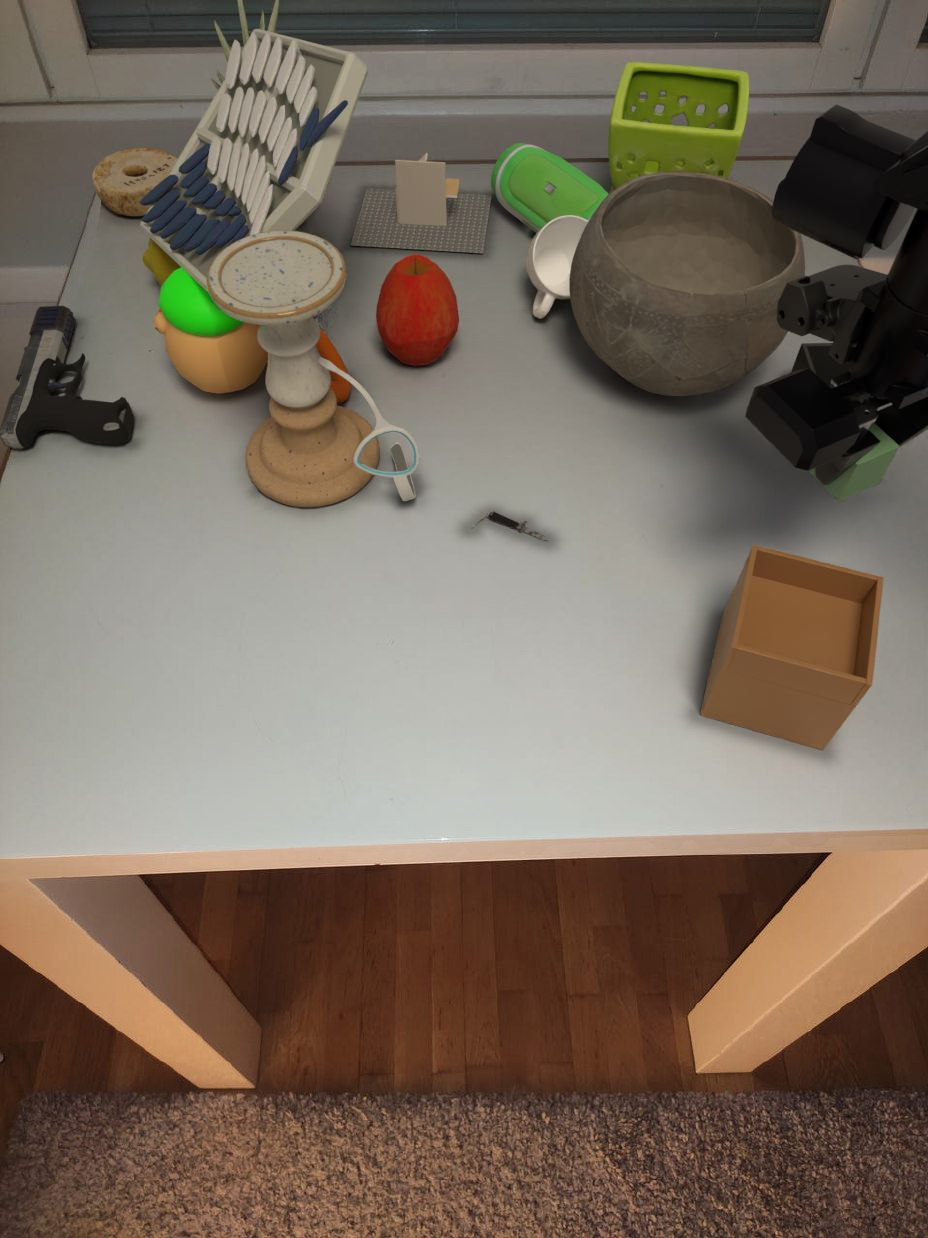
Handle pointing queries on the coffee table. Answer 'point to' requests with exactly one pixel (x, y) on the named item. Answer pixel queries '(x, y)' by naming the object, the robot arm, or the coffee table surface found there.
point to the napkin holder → (423, 212)
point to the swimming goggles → (403, 471)
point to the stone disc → (130, 178)
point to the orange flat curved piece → (330, 353)
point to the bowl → (683, 281)
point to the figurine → (206, 338)
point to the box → (794, 647)
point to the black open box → (819, 361)
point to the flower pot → (670, 145)
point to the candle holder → (294, 366)
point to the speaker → (543, 186)
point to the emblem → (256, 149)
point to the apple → (417, 311)
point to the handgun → (37, 380)
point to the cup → (553, 260)
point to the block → (864, 468)
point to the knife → (512, 524)
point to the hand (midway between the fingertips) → (844, 470)
